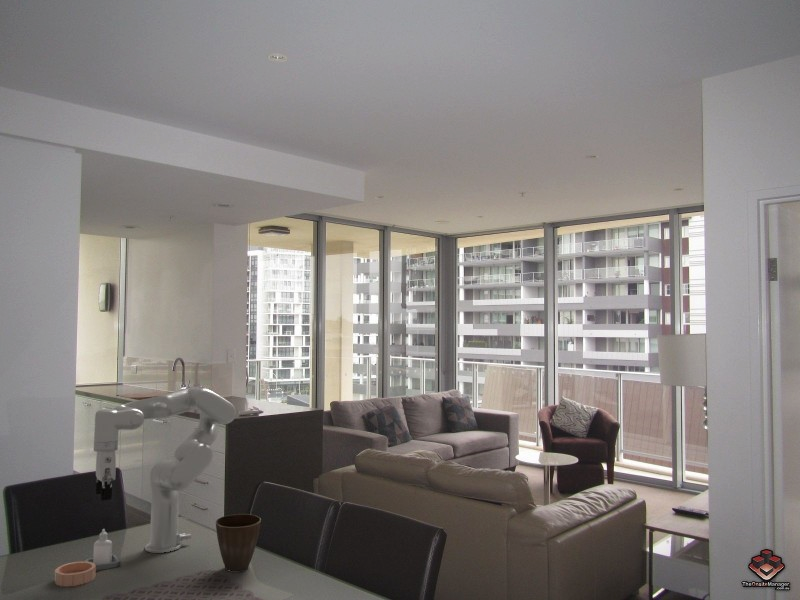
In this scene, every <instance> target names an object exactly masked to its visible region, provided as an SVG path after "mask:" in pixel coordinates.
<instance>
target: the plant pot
mask: <svg viewBox="0 0 800 600" xmlns="http://www.w3.org/2000/svg"><path fill="white" fill-rule="evenodd" d="M261 522H262V518H261V517H260V516H258V515H255V514H252V513H251V514H250V513H238V514H237V513H236V514H234V513H233V514H230V515H224V516H222V517H219V518H217V519H216V521H215V529H216V536H217V538H216V539H217V541H218V548H219V552H220V555H221V560H222V563H223V565H224V568H225V570H226V569H227V570H230V571H240V572H242V571H241V570H244V571H246V570H247V569H249V567H250V564H251V561H252V559H253V555H254V553H255V549H256V545H257V542H258V538H259V534H260V528H261ZM245 569H246V570H245ZM227 570H226V571H227ZM230 571H229V572H230Z"/></svg>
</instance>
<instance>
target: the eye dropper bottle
mask: <svg viewBox="0 0 800 600" xmlns="http://www.w3.org/2000/svg"><path fill="white" fill-rule="evenodd" d="M92 554H93V555H92V558H93V563H95V565H100V564H105V563H111V562H113V560H112V555H113V542H112V540H110V539H108V532H106V530H105V528H103V529H102V530H101V532H100V533H99V537H98V540H96V541H95V542H94V544H93V553H92Z"/></svg>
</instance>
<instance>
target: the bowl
mask: <svg viewBox="0 0 800 600" xmlns="http://www.w3.org/2000/svg"><path fill="white" fill-rule="evenodd" d="M84 561H85V560H84ZM84 561H74V562H69V563H65V564H62V565H60V566H58V567H57V568H56V569H54V584H55V585H56V586H59V585H60V586H59V587H76V586H81V585H84V583H85V584H88V583H90V582H92V581H93V580H94V579H95V578H96V573H97V571H96V565H95V563H92V562H87V561H85V562H84ZM80 584H81V585H80Z"/></svg>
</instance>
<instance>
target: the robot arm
mask: <svg viewBox="0 0 800 600" xmlns="http://www.w3.org/2000/svg"><path fill="white" fill-rule="evenodd" d="M193 410H195V411H199V422H198V426H197V428H196V429H195V430H194V431H193V432H192V433H191V434H190V435H189V436H187V438H186V439H184V440H183V441H182V442H181V443H180V444H179V445H178V446H177V447H176V449H175V450H174V455H173V457H174V460H175V461H173V460H169V459H163V460H159V461H157V462H156V463H154V464H153V465H152V467H151V469H150V471H149V482H150V489H151V491H150V492H151V503H150V504H151V507H150V527H149V529H150V530H149V531H150V532H149V533H150V534H149V535H150V536H149V537H150V538H149V542H148V543H147V544H145V545H144V547H145V548H144V549H145V551H146V552H149V553H153V554H163V553H164V552H166V553H170V551H171V552H174V550H175V551H177V550H179V549H180V548H181V547H182V545H183V543H182V542H183V541H185V540H191V539H192V538H191V537H192V534H191V533H185V532H183V533H180V532H179V531H178V530H179V509H180V508H179V506H180V505H179V504H180V495H179V492H180V491H184V490H185V489H187V488H189V486H191V485H192V484H193V482H195V481H196V480H197V479H198V478H199V477H200V476H201V475H202V474H203V473H204V471H206V470H207V468H208V467H209V466H210V464H211V463H212V461H213V457H214V452H213V448H212V445H213V444H214V442H215V441H216V439H217V437H218V433H219V424H221V425H228V424H230V423H232V422H233V421H234V419H236V415H237V412H236V411H237V410H236V407H235V406H234V404H232V402H230V401H228V400H227V399H226V398H224V397H222V396H221V395H219V394H218V393H216V392H214V391H213V390H211V389H209V388H205V387H196V386H192V387H187V388H183V389H180V390H177V391H173V392H171V393H167V394H162V395H159V396H153V397H149V398H144V399H138V400H134V401H131V402H127V403H124V404H120V405H118V406H115V407H114V408H113V409H112V408H108V409H107V408H105V409H103V408H102V409H99V410H97V411H96V412H95V416H94V431H93V432H94V435H93V436H94V437H93V452H94V453H95V452H96V456H95V457H96V458H95V477H96V482H95V483H96V484H95V494H96V495H100V500H101V501H108V500H109V501H110V500H112V498H113V496H112V495H113V494H112V493H113V492H112V491H113V490H112V489H113V483H112V482H113V481H115V480H116V476H117V475H116V474H117V473H116V472H117V471H116V465H117V464H116V462H117V461H116V459H117V458H116V451H118V448H119V446H118V445H119V430H120V431H121V430H123V431H124V430H127V431H133V430H136V429H138V428H140V427H142V426H143V424H144V423H145V420H149V419H150V420H151V419H152V420H153V419H154V420H155V419H157V420H158V419H160V420H161V419H168V418H171V417H174V416H178V415H181V414H183V413H186V412H189V411H193Z"/></svg>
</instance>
